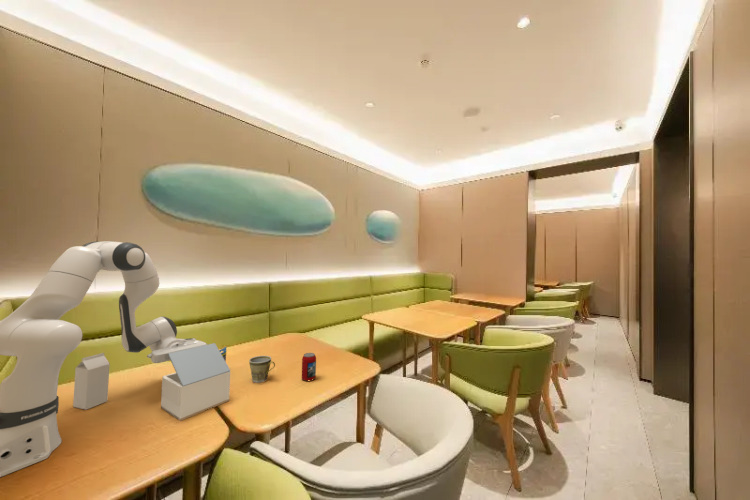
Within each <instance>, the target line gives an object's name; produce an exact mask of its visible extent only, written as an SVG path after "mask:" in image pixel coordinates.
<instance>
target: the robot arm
mask: <svg viewBox="0 0 750 500" xmlns="http://www.w3.org/2000/svg"><path fill="white" fill-rule="evenodd" d="M100 271H109V272H113V271H114V272H117V271H118V272H119V271H120V272H121V274H122V279H123V282H124V290H123V293H122V294H121V295H120V296H119V298H118V308H119V309H118V310H119V311H118V312H119V321H120V327H121V345H122V347H123V349H124V351H126V352H128V353H136V354H137V353H140V352H141V351H143V350H145V349H147V348H148V347H149V349H150V350H151V353H149V354H147V355H146V358H148V359H150V361H151V362H152V363H153V364H160V363H164V362H170V361H171V360H170V358H169V356H168V353H173V352H177V351H182V350H186V349H191V348H195V347H200V346H204V345H208V343H206V342H205V341H202V340H199V339H198V340H197V339H196V338H194V337H193V338H177V334H178V329H177V326H176V324H175V322H174V321H173V320H172V319H171V318H169V317H167V316H160V317H156V318H154V319H153V320H150V321H148V322H146V323H144V324H141V325H139V326H137V324H136V316H135V315H136V314H135V313H136V311H137V308H138V307H139V306H140V305H141V304H143V303H144V302H145V301H146V300H148V299H149V298H150V297H152V296H153V295H154V294H155V293H156V292H157V290H158V289H159V287H160V278H159V274H158V272H157V271H158V270H157V268H156V266H155V264H154V262H153V260H152V258H151V256H150V255H149V253H147V252H146V251H144V249H143V248H142V247H141V246H140V245H138V244H136V243H133V242H121V241H115V240H114V241H113V240H110V241H107V240H106V241H105V240H104V241H90V242H88V243H85V244H83V245H81V246H79V245H77V246H75V245H74V246H71V247H69V248H68V249H66V250H65V251H64V252H63V253H62V254H61V255H60V256H59V257H58V258H57V259H56V260H55V261H54V263H52V265H51V266H50V267H49V269H48V271H47V272H46V273H45V275H44V276H43V278H42V279H41V281H40V282H39V284H38V285H37V287H36V288H35V289H34V291H33V292H32V293H31V295H30V296H29V297H28V298H27V299H26V300H24V302H22V303H21V305H19V306H18V307H17V308H16V309H15V310H14V311H12V312H11V313H10V314H8V316H6V317H4V318H2V319H1V320H0V356H4V357H5V356H7V357H16V363H15V365H14V368H13V370H12V372H11V374H9V375H7V376H6V377H5V378H4V379H3V380H2V381H1V383H0V478H1V477H4V476H6V475H9V474H11V473H13V472H16V471H19V470H21V469H24V468H26V467H29V466H31V465H33V464H37V463H39V462H41V461H43V460H46V459H48V458H49V457H50V456H51V454H52V452H53V451H54V450H55V449H57V448H58V447H59V446H60V445H61V444H62V441H63V440H62V437H61V435H60V432H59V429H58V428H59V427H58V419H57V418H58V417H57V414H59V413H58V412H59V406H60V404H59V398H60V397H59V395H58V385H59V375H60V372H61V369H62V366H63V364H64V363H65V362H64V361H65V360H66V358H67V357H68V355H69V354H71V353H72V352H74V350H76V349H77V348H78V347H79V345H80V344H81V342H82V339H83V331H82V329H81V327H80V326H79V325H77V324H75V323H72V322H69V321H66V320H63V319H61V318H62V317H63V316H64V315H65V314H66V313H68V312H69V311H71V310H73V309H75V308H77V307H78V306H79V305H81V303H82V301H83V300H84V298H85V296H86V295H87V293H88V291H89V289H90V287H91V285H92V284H93V283H94V281H95V278H96V277H97V275H98V273H99V272H100Z"/></svg>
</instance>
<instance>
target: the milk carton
mask: <svg viewBox="0 0 750 500" xmlns="http://www.w3.org/2000/svg"><path fill="white" fill-rule="evenodd" d="M110 367H111V365H110V362H109V361H108V359H107V357H106V356H105V352H101V353H98V354H94V355H90V356H85V357H82V358H81V361H80V363H79V364H78V365H76V367H75V371H74V374H75V375H74V386H73V387H74V388H73V389H74V390H73V401H72V402H73V403H72V404H73V405H72V407H73V408H77V409H80V410H81V409H82V410H88V409H91V408H93V407H96V406H98V405H101V404H104V403H106V402H108V397H109V380H110V379H109V378H110Z"/></svg>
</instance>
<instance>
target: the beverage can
mask: <svg viewBox="0 0 750 500" xmlns="http://www.w3.org/2000/svg"><path fill="white" fill-rule="evenodd" d="M316 373H317V357H316V354H315V353H314V352H306V353H304V354H303V356H302V359H301V380H302V381H304V380H306V381H305V382H309V381H308V380H312V379H313V380H315V379H316V376H317V375H316ZM314 378H315V379H314ZM313 380H312V381H313Z"/></svg>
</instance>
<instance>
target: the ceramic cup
mask: <svg viewBox="0 0 750 500" xmlns="http://www.w3.org/2000/svg"><path fill="white" fill-rule="evenodd" d="M248 362H249V367H250V373H251V374H250V375H251V380H252V382H253V383H256V384H257V383H264V382H265V381H267V380H268V377H269V373H270V372H271V371H272V370H273V369H274V368H275V366H276V363H275V361H272V357H271V356H269V355H258V356H254V357H253V356H252V357H251V358H250V359H249V361H248ZM271 364H273V367H271V368H270V366H271Z"/></svg>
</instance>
